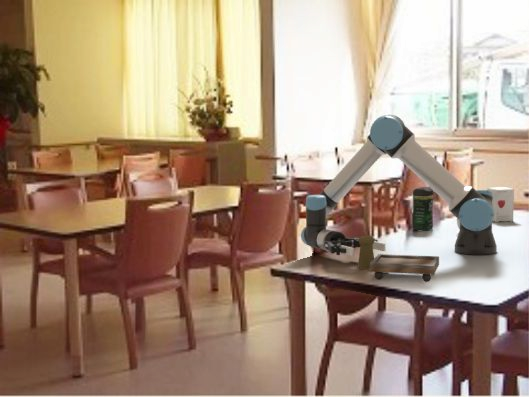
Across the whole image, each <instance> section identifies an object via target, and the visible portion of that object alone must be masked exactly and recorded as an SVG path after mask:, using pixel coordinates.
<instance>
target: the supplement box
mask: <svg viewBox="0 0 529 397" xmlns="http://www.w3.org/2000/svg"><path fill="white" fill-rule="evenodd" d="M486 190H490V191H491V192H492V196H493V200H492V207H493V210H494V218H493V221H492V222H494V221H495V222H494V223H500V222H499V221H510V222H514V207H515V205H514V203H515V188H511V187H505V186H496V187H487V189H486Z"/></svg>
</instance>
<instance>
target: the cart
mask: <svg viewBox="0 0 529 397" xmlns="http://www.w3.org/2000/svg"><path fill="white" fill-rule="evenodd" d="M439 266H440V256H436V255H435V256H434V255H413V254H412V255H410V254H391V253H390V254H387V253H385V254H383V253H378V254H377V255H376V256H374V259H373V260H372V261H371V263H370V269H369V272H371V273H374V274H373V275H374V278H375V280H379V281H381V280H383V279H384V277H385V274H384V273H386V274H387V273H389V274H390V273H392V274H411V275H421V280H422V281H423V282H424V283H429V282H431V280H432V276H433V275H435V273H436V271H437V270H438V268H439Z"/></svg>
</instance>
